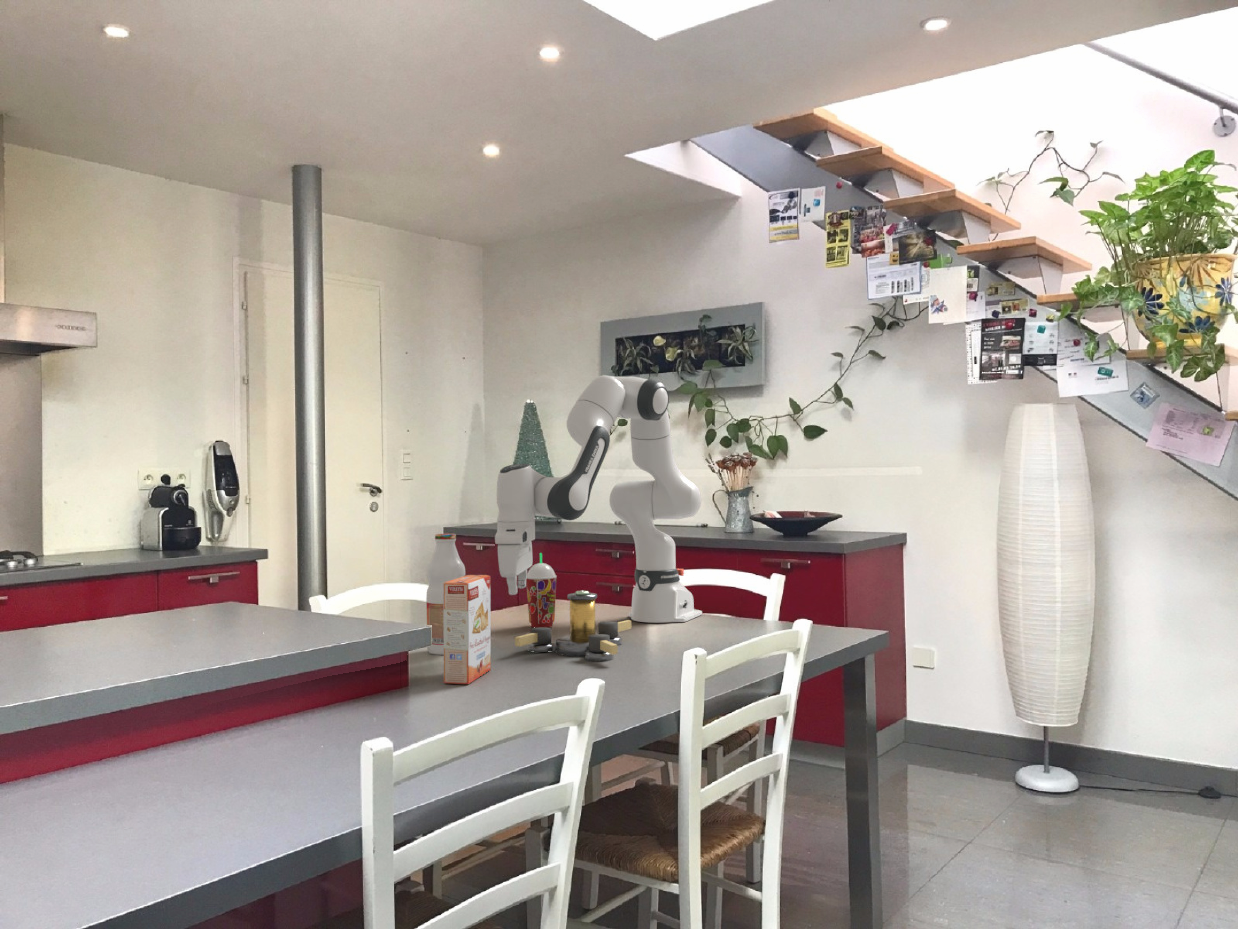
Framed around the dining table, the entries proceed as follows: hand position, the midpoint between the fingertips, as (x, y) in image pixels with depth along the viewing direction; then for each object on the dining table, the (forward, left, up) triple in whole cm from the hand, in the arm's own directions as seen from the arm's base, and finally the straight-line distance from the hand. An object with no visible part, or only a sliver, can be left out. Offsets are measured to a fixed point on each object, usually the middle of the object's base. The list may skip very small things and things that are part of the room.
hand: (517, 591), depth 233 cm
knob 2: (-3, +24, -13) cm, 27 cm away
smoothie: (-29, -18, -15) cm, 37 cm away
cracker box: (+26, +9, -15) cm, 31 cm away
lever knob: (-22, +12, -12) cm, 28 cm away
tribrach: (-12, +12, -14) cm, 22 cm away
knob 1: (-1, +4, -12) cm, 13 cm away
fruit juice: (+9, -15, -15) cm, 23 cm away
